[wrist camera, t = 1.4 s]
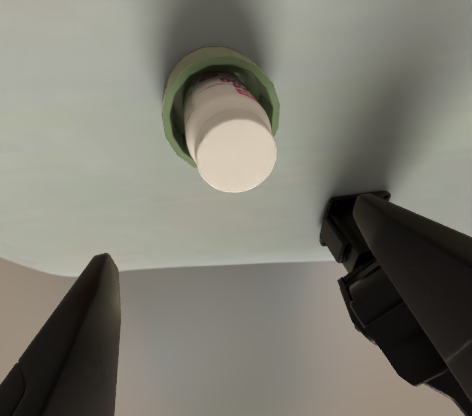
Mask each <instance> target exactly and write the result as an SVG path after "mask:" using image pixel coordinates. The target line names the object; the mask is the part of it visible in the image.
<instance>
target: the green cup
mask: <svg viewBox="0 0 472 416" xmlns="http://www.w3.org/2000/svg"><path fill="white" fill-rule="evenodd" d="M210 71H223V72H227V73H230V74H232V75H234V76H235V77H237V78H238V79H239V80H240V81H241V82H242V83H243V84H244V85H245V87H246V88H247V89H248V91H249V92H250V93H251V94H252V96H253V97H254V98H255V99H256V100H257V102H258V103H259V104H260V105H261V107H262V108H263V109H264V110H265V112H266V114H267V116H268V118H269V121H270V124H271V132H272V135H273V137H274V135H275V133H276V131H277V129H278V123H279V111H280V104H279V101H278V98H277V95H276V91H275V88H274V85H273V83H272V82H271V81H270V79H269V78H268V77H267V76H266V75H265V74H264V73H263V72H262V70H261V69H260V68H259V67H258V66H257V65H256V64H255V63H253V62H252V61H251V60H250V59H249V58H247V57H246V56H245V55H243V54H240V53H238V52H236V51H234V50H231V49H229V48H227V47H206V48H200V49H199V50H196V51H194V52H192V53H190V54H189V55H187V56H185V57H184V58H182V59H181V60H180V62H179V63H178V64H177V65H176V66H175V68H174V69H173V71H172V72H171V74H170V75H169V77H168V80H167V84H166V88H165V93H164V97H163V107H162V119H163V124H164V130H165V135H166V138H167V140H168V141H169V143H170V144H171V146H172V148H173V149H174V151H175V152H176V154H177V155H178V156H179V157H180V158H182V159H183V160H184V161H186V162H187V163H189V164H190V165H192V166H193V167H194V168H197V164H196V163H195V161H194V160H193V158H192V157H191V155H190V152H189V150H188V147H187V142H186V133H185V122H184V108H183V105H184V98H185V94H186V92H187V90H188V88H189V86H190V85H191V83H192V82H193V81H194V80H195V79H196V78H197V77H199V76H200V75H202V74H204V73H207V72H210ZM197 169H198V168H197Z"/></svg>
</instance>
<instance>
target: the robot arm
mask: <svg viewBox="0 0 472 416" xmlns="http://www.w3.org/2000/svg"><path fill="white" fill-rule="evenodd" d="M390 197H391V194H390V193H389V192H388V191H380V192H372V193H364V194H356V195H348V196H340V197H333V198H332V199H330V201H329V204H328V209H327V213H326V217H325V218H324V222H323V226H322V230H321V238H320V243H321V245H322V246H327V247H328V248H329V250H330V252H331V253H332V255H333V256H334V258H335V260H336V261H337V262H338V263H342V264H343V265H344V267H345V268H346V270H347V272H348V274H347V275H346V276H344V277H341V278H340V279H339V280H338V283H339V286H340V290H341V293H342V296H343V298H344V301H345V304H346V307H347V309H348V312H349V315H350V317H351V320H352V322H353V323H354V326H355V328H356V330H357V331H359V332H361V333H362V334H363V335H364V336H365V337H366V338H367V339H368V340H369V341H370V342H372V343H373V344H375V345H378V346H379V348H380V349H381V350H382V352H383V353H384V354H385V356H386V357H387V359H388V360H389V362H390V363H391V365H392V366H393V368H394V369H395V370H396V372H397V374H398V375H399V376H400V377H402V378H403V379H404V380H406V381H407V382H408V383H410V384H411V385H413V386H416V387H417V386H419V385H421V384H425V385H426V386H428V387H430V388H432V389H434V390H435V391H437V392H439V393H441V394H443V395H444V396H446V397H448V398H450V399H451V400H452V401H454V403H455V404H456V405H457V406H458V407H459V408H460V410H461V411H462V412H463V413H464V415H465V416H472V237H470V236H468V235H465V234H463V233H461V232H458V231H456V230H454V229H451V228H449V227H447V226H444V225H442V224H440V223H437V222H435V221H432V220H430V219H428V218H425V217H423V216H421V215H418V214H416V213H414V212H411V211H409V210H407V209H404V208H402V207H400V206H397V205H395V204H393V203H390V202H388V201H389V199H390ZM334 202H335V203H334ZM119 286H120V285H119V271H118V268H117V266H116V265H115V263H114V261H113V260H112V258H111V256H110V255H109V254H108V253H104V254H100V255H96V256H94V257H93V258H92V260H91V261H90V262H89V264H88V265H87V267H86V268H85V269H84V271H83V272H82V273H81V275H80V276H79V278H78V279H77V281H76V282H75V283H74V285H73V286H72V287H71V289H70V290H69V292H68V293H67V294H66V296H65V297H64V298H63V300H62V301H61V302H60V304H59V305H58V306H57V308H56V309H55V311H54V312H53V314H52V315H51V316H50V318H49V319H48V320H47V322H46V323H45V324H44V326H43V327H42V329H41V330H40V331H39V333H38V334H37V335H36V337H35V338H34V339H33V341H32V342H31V344H30V345H29V346H28V348H27V349H26V351H25V352H24V353H23V355H22V356H21V357H20V359H19V361H18V362H19V363H16V364H15V365H14V367H13V368H12V370H11V371H10V372H9V374H8V375H7V376H6V378H5V379H4V380H3V382H2V383H1V384H0V416H114V412H115V398H116V383H117V369H118V355H119V341H120V340H119V339H120V325H121V303H120V287H119Z"/></svg>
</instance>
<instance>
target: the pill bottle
mask: <svg viewBox="0 0 472 416" xmlns="http://www.w3.org/2000/svg"><path fill="white" fill-rule="evenodd" d="M183 108H184V122H185V133H186V142H187V147H188V150H189V152H190V155H191V157H192V158H193V160H194V161H195V163H196V164H197V168H198V170H199V173H200V175H201V176H202V178H203V179H204V180H205V181H206V182H207V183H208V184H209V185H211V186H212V187H214V188H216V189H218V190H220V191H224V192H243V191H246V190H249V189H252V188H254V187H256V186H257V185H259V184H260V183H261V182H263V181H264V180H265V179H266V178H267V177H268V175H269V174H270V173H271V171H272V169H273V167H274V165H275V162H276V158H277V146H276V142H275V139H274V137H273V135H272V132H271V124H270V121H269V118H268V116H267V114H266V112H265V110H264V109H263V108H262V107H261V105H260V104H259V103H258V102H257V100H256V99H255V98H254V97H253V96H252V94H251V93H250V92H249V91H248V89H247V88H246V87H245V85H244V84H243V83H242V82H241V81H240V80H239V79H238V78H237V77H235V76H234V75H232V74H230V73H227V72H223V71H210V72H207V73H204V74H202V75H200V76H199V77H197V78H196V79H195V80H194V81H193V82H192V83H191V85H190V86H189V88H188V90H187V92H186V94H185V98H184V105H183Z"/></svg>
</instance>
